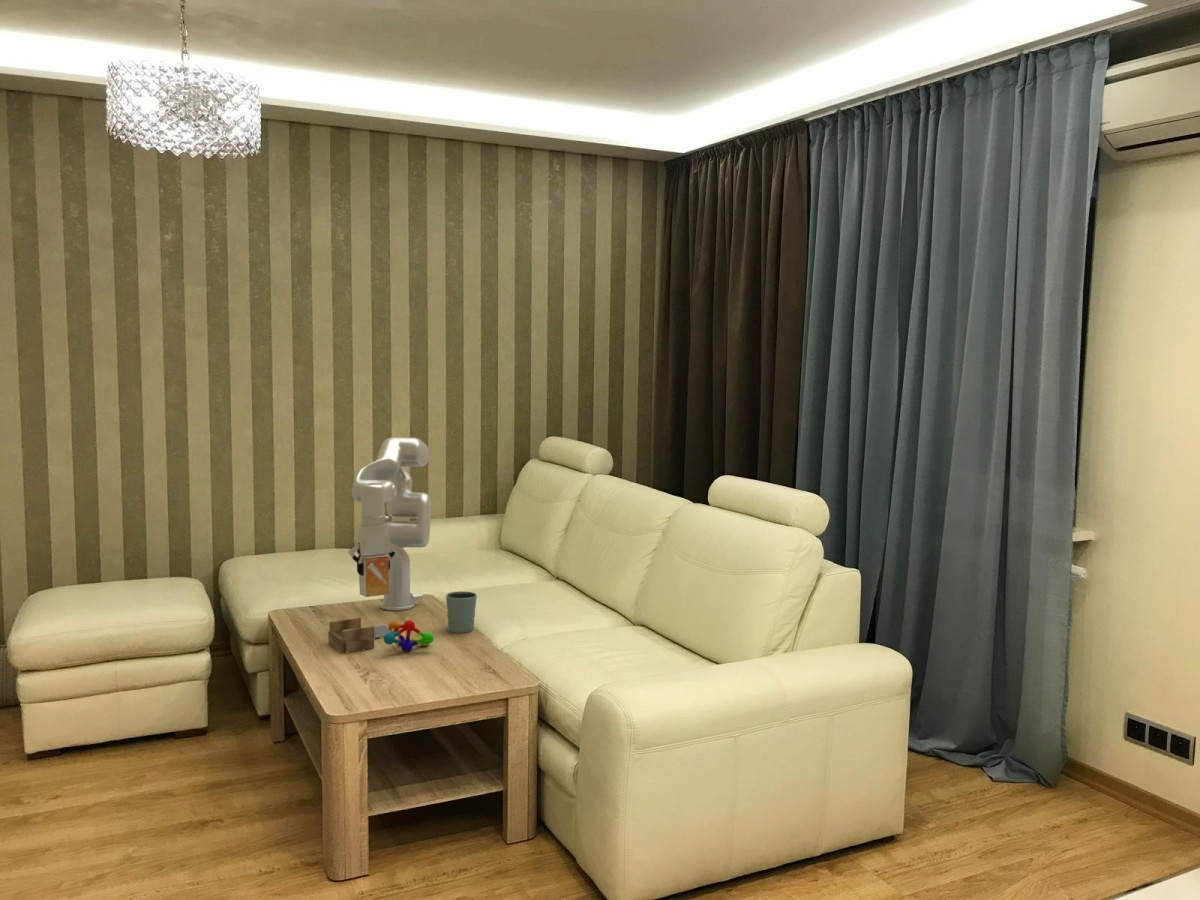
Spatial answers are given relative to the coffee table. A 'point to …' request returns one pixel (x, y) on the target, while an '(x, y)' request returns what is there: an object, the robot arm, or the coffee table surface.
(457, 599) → the blue-grey cup
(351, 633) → the slot
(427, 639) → the molecular model
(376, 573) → the small box
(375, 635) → the coaster
